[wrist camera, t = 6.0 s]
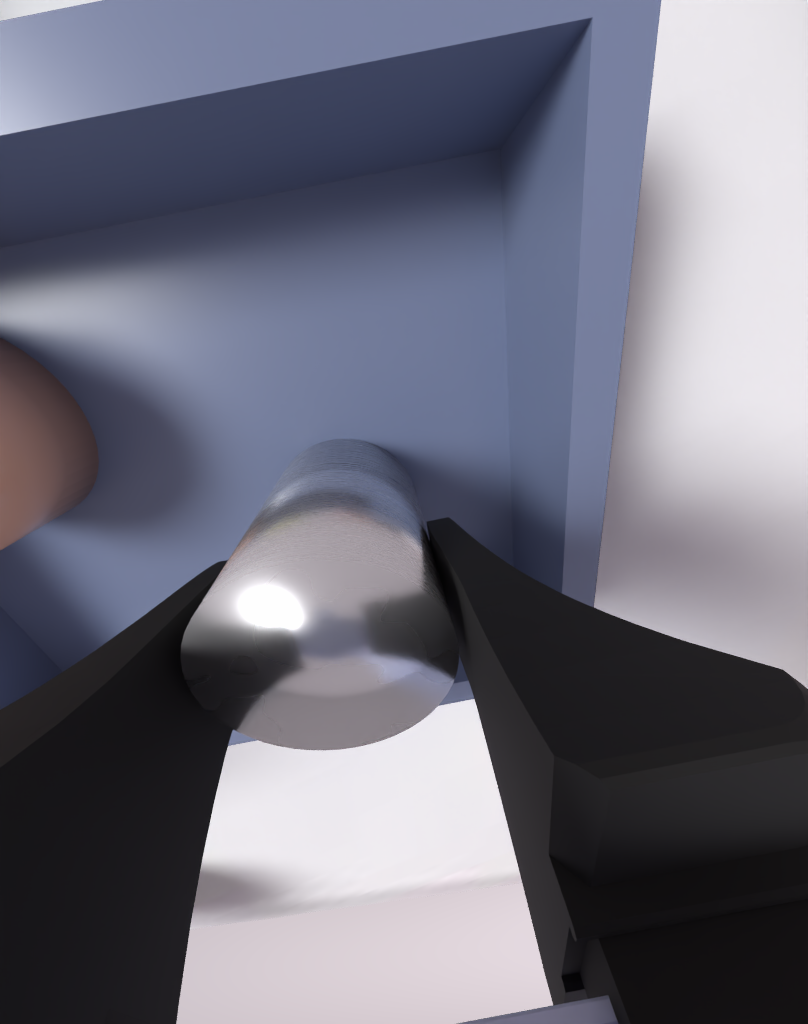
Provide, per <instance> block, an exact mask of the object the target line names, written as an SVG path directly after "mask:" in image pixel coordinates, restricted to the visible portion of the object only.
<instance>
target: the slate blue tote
mask: <svg viewBox="0 0 808 1024" xmlns="http://www.w3.org/2000/svg"><path fill="white" fill-rule="evenodd" d="M660 6H661V0H102V1H98V2H93V3H88V4H83V5H78V6H73V7H68V8H63V9H58V10H53V11H48V12H43V13H38V14H33V15H28V16H23V17H18V18H13V19H8V20H3V21H0V338H2V339H4V340H6V341H7V342H9V343H11V344H12V345H14V346H16V347H17V348H19V349H21V350H22V351H24V352H25V353H27V354H28V355H29V356H31V357H32V358H34V359H35V360H36V361H38V362H39V363H40V364H41V365H42V366H44V367H45V368H46V369H47V370H48V371H49V372H51V373H52V374H53V375H54V376H55V377H56V378H57V379H58V380H59V381H60V382H61V384H62V385H63V386H64V387H65V388H66V389H67V390H68V392H69V393H70V394H71V395H72V396H73V398H74V399H75V400H76V402H77V403H78V405H79V406H80V408H81V409H82V411H83V413H84V414H85V416H86V418H87V420H88V422H89V424H90V426H91V429H92V431H93V434H94V437H95V440H96V444H97V448H98V457H99V466H98V474H97V478H96V482H95V484H94V486H93V488H92V490H91V492H90V493H89V494H88V496H87V497H86V498H85V499H84V500H83V501H82V502H81V503H80V504H78V505H77V506H75V507H74V508H72V509H71V510H69V511H67V512H65V513H64V514H62V515H60V516H59V517H57V518H55V519H53V520H52V521H50V522H48V523H47V524H45V525H43V526H41V527H40V528H38V529H36V530H35V531H33V532H31V533H29V534H28V535H26V536H24V537H23V538H21V539H19V540H17V541H16V542H14V543H12V544H11V545H9V546H7V547H5V548H4V549H2V550H0V710H1V709H3V708H4V707H6V706H8V705H10V704H11V703H13V702H15V701H17V700H18V699H20V698H22V697H23V696H25V695H27V694H28V693H30V692H32V691H33V690H35V689H37V688H38V687H40V686H41V685H43V684H44V683H46V682H48V681H49V680H51V679H52V678H54V677H56V676H57V675H59V674H60V673H62V672H63V671H65V670H67V669H68V668H70V667H71V666H73V665H74V664H76V663H77V662H79V661H80V660H82V659H83V658H85V657H86V656H88V655H89V654H91V653H92V652H94V651H95V650H97V649H98V648H99V647H101V646H102V645H104V644H105V643H106V642H108V641H109V640H111V639H112V638H113V637H115V636H116V635H117V634H119V633H120V632H122V631H123V630H124V629H126V628H127V627H129V626H130V625H131V624H133V623H134V622H136V621H137V620H138V619H140V618H141V617H142V616H144V615H145V614H147V613H148V612H149V611H150V610H152V609H153V608H154V607H156V606H157V605H158V604H160V603H161V602H162V601H164V600H165V599H166V598H168V597H169V596H170V595H172V594H173V593H174V592H176V591H177V590H178V589H180V588H181V587H182V586H184V585H185V584H186V583H188V582H189V581H190V580H192V579H193V578H194V577H196V576H197V575H198V574H200V573H201V572H203V571H204V570H206V569H207V568H209V567H210V566H212V565H214V564H215V563H217V562H220V561H225V560H229V558H230V556H231V555H232V553H233V552H234V550H235V548H236V547H237V545H238V544H239V542H240V541H241V539H242V537H243V536H244V534H245V533H246V531H247V530H248V528H249V526H250V525H251V523H252V522H253V520H254V518H255V517H256V515H257V514H258V512H259V511H260V509H261V507H262V506H263V504H264V503H265V501H266V500H267V498H268V496H269V495H270V493H271V492H272V490H273V488H274V487H275V485H276V484H277V482H278V481H279V479H280V477H281V476H282V474H283V473H284V471H285V470H286V468H287V467H288V465H289V464H290V463H291V461H292V460H293V459H294V458H295V457H296V456H297V455H299V454H300V453H301V452H303V451H304V450H306V449H307V448H309V447H311V446H313V445H315V444H318V443H320V442H324V441H328V440H332V439H356V440H362V441H366V442H369V443H372V444H374V445H377V446H379V447H381V448H383V449H384V450H386V451H388V452H389V453H390V454H392V455H393V456H394V457H395V458H396V459H397V460H398V461H399V462H400V463H401V464H402V465H403V466H404V468H405V469H406V470H407V472H408V474H409V475H410V477H411V479H412V482H413V485H414V488H415V491H416V495H417V498H418V502H419V505H420V509H421V512H422V516H423V520H424V523H425V527H426V530H427V534H428V528H427V522H426V521H431V520H437V519H442V518H447V517H449V518H451V519H452V520H453V521H455V522H456V523H457V524H458V525H459V526H460V527H461V528H462V529H464V530H465V531H466V532H467V533H468V534H470V535H471V536H472V537H473V538H474V539H476V540H477V541H478V542H479V543H481V544H482V545H483V546H485V547H486V548H487V549H489V550H490V551H491V552H493V553H494V554H495V555H497V556H498V557H500V558H501V559H503V560H504V561H506V562H507V563H509V564H510V565H512V566H513V567H515V568H516V569H518V570H519V571H521V572H523V573H524V574H526V575H528V576H530V577H531V578H533V579H535V580H537V581H539V582H541V583H543V584H545V585H547V586H548V587H550V588H552V589H554V590H556V591H558V592H560V593H562V594H564V595H566V596H569V597H571V598H573V599H575V600H577V601H580V602H582V603H584V604H587V605H589V606H591V607H594V599H595V590H596V581H597V572H598V563H599V554H600V545H601V536H602V527H603V518H604V509H605V500H606V491H607V482H608V473H609V464H610V455H611V446H612V437H613V428H614V419H615V410H616V401H617V392H618V383H619V374H620V365H621V356H622V348H623V339H624V330H625V321H626V312H627V303H628V294H629V285H630V276H631V267H632V258H633V249H634V240H635V231H636V222H637V213H638V204H639V195H640V186H641V177H642V168H643V159H644V150H645V141H646V132H647V123H648V114H649V105H650V96H651V87H652V78H653V69H654V60H655V51H656V42H657V33H658V24H659V15H660ZM428 537H429V534H428ZM429 541H430V540H429ZM470 699H474V696H473V693H472V689H471V686H470V684H469V681H468V678H467V675H466V673H465V670H464V667H463V664H462V662H461V659H460V656H459V664H458V670H457V674H456V677H455V680H454V682H453V685H452V686H451V688H450V690H449V692H448V694H447V695H446V696H445V698H444V699H443V700H442V702H441V703H440V704H439V705H444V704H449V703H455V702H460V701H465V700H470ZM439 705H438V706H439ZM250 741H256V739H253V738H250V737H248V736H246V735H244V734H241V733H239V732H237V731H235V730H233V731H232V734H231V737H230V741H229V744H228V746H230V745H235V744H240V743H245V742H250Z"/></svg>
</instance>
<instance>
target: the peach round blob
mask: <svg viewBox="0 0 808 1024" xmlns="http://www.w3.org/2000/svg"><path fill="white" fill-rule="evenodd" d="M98 466H99V457H98V448H97V444H96V440H95V437H94V434H93V431H92V429H91V426H90V424H89V422H88V420H87V418H86V416H85V414H84V413H83V411H82V409H81V408H80V406H79V405H78V403H77V402H76V400H75V399H74V398H73V396H72V395H71V394H70V393H69V392H68V390H67V389H66V388H65V387H64V386H63V385H62V384H61V382H60V381H59V380H58V379H57V378H56V377H55V376H54V375H53V374H52V373H51V372H49V371H48V370H47V369H46V368H45V367H44V366H42V365H41V364H40V363H39V362H38V361H36V360H35V359H34V358H32V357H31V356H29V355H28V354H27V353H25V352H24V351H22V350H21V349H19V348H17V347H16V346H14V345H12V344H11V343H9V342H7V341H6V340H4V339H2V338H0V550H2V549H4V548H5V547H7V546H9V545H11V544H12V543H14V542H16V541H17V540H19V539H21V538H23V537H24V536H26V535H28V534H29V533H31V532H33V531H35V530H36V529H38V528H40V527H41V526H43V525H45V524H47V523H48V522H50V521H52V520H53V519H55V518H57V517H59V516H60V515H62V514H64V513H65V512H67V511H69V510H71V509H72V508H74V507H75V506H77V505H78V504H80V503H81V502H82V501H83V500H84V499H85V498H86V497H87V496H88V494H89V493H90V492H91V490H92V488H93V486H94V484H95V482H96V478H97V474H98Z"/></svg>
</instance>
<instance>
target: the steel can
mask: <svg viewBox="0 0 808 1024" xmlns="http://www.w3.org/2000/svg"><path fill="white" fill-rule="evenodd" d="M180 659H181V666H182V672H183V674H184V677H185V680H186V683H187V685H188V687H189V688H190V690H191V692H192V694H193V695H194V697H195V698H196V699H197V700H198V702H199V703H200V704H201V705H202V706H203V707H204V708H205V709H206V710H207V711H208V712H209V713H210V714H211V715H212V716H214V717H215V718H216V719H218V720H219V721H220V722H222V723H223V724H225V725H226V726H228V727H230V728H232V729H233V730H235V731H237V732H239V733H241V734H244V735H246V736H248V737H250V738H253V739H256V740H259V741H262V742H265V743H269V744H273V745H277V746H282V747H288V748H294V749H305V750H336V749H346V748H353V747H358V746H363V745H367V744H371V743H375V742H378V741H381V740H384V739H387V738H389V737H392V736H394V735H397V734H399V733H401V732H403V731H405V730H407V729H409V728H411V727H412V726H414V725H415V724H417V723H418V722H420V721H421V720H423V719H424V718H425V717H426V716H428V715H429V714H430V713H431V712H432V711H433V710H434V709H435V708H436V707H437V706H438V705H439V704H440V703H441V702H442V700H443V699H444V698H445V696H446V695H447V694H448V692H449V690H450V688H451V686H452V685H453V682H454V680H455V677H456V674H457V670H458V664H459V646H458V642H457V637H456V633H455V630H454V626H453V622H452V619H451V615H450V612H449V608H448V605H447V601H446V598H445V594H444V590H443V587H442V583H441V580H440V576H439V573H438V569H437V566H436V562H435V559H434V555H433V551H432V548H431V544H430V541H429V537H428V534H427V530H426V527H425V523H424V520H423V516H422V512H421V509H420V505H419V502H418V498H417V495H416V491H415V488H414V485H413V482H412V479H411V477H410V475H409V474H408V472H407V470H406V469H405V468H404V466H403V465H402V464H401V463H400V462H399V461H398V460H397V459H396V458H395V457H394V456H393V455H392V454H390V453H389V452H388V451H386V450H384V449H383V448H381V447H379V446H377V445H374V444H372V443H369V442H366V441H362V440H356V439H332V440H328V441H324V442H320V443H318V444H315V445H313V446H311V447H309V448H307V449H306V450H304V451H303V452H301V453H300V454H299V455H297V456H296V457H295V458H294V459H293V460H292V461H291V463H290V464H289V465H288V467H287V468H286V470H285V471H284V473H283V474H282V476H281V477H280V479H279V481H278V482H277V484H276V485H275V487H274V488H273V490H272V492H271V493H270V495H269V496H268V498H267V500H266V501H265V503H264V504H263V506H262V507H261V509H260V511H259V512H258V514H257V515H256V517H255V518H254V520H253V522H252V523H251V525H250V526H249V528H248V530H247V531H246V533H245V534H244V536H243V537H242V539H241V541H240V542H239V544H238V545H237V547H236V548H235V550H234V552H233V553H232V555H231V556H230V558H229V560H228V561H227V563H226V564H225V566H224V567H223V569H222V571H221V572H220V574H219V575H218V577H217V578H216V580H215V582H214V583H213V585H212V586H211V588H210V590H209V591H208V593H207V594H206V596H205V597H204V599H203V601H202V602H201V604H200V605H199V607H198V608H197V610H196V612H195V613H194V615H193V616H192V618H191V620H190V622H189V624H188V626H187V628H186V630H185V632H184V636H183V640H182V644H181V657H180Z"/></svg>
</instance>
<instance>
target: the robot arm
mask: <svg viewBox="0 0 808 1024" xmlns="http://www.w3.org/2000/svg"><path fill="white" fill-rule="evenodd" d="M426 522H427V528H428V534H429V540H430V544H431V548H432V551H433V555H434V559H435V562H436V566H437V569H438V573H439V576H440V580H441V583H442V587H443V590H444V594H445V598H446V601H447V605H448V608H449V612H450V615H451V619H452V622H453V626H454V630H455V633H456V637H457V642H458V646H459V656H460V659H461V662H462V664H463V667H464V670H465V673H466V675H467V678H468V681H469V684H470V686H471V689H472V693H473V696H474V699H475V702H476V705H477V709H478V712H479V716H480V720H481V724H482V728H483V731H484V735H485V739H486V743H487V746H488V750H489V754H490V758H491V762H492V766H493V769H494V773H495V777H496V781H497V785H498V789H499V792H500V796H501V800H502V804H503V808H504V812H505V816H506V820H507V824H508V828H509V832H510V835H511V839H512V843H513V847H514V851H515V855H516V859H517V863H518V867H519V871H520V875H521V879H522V883H523V887H524V891H525V895H526V899H527V903H528V907H529V911H530V915H531V919H532V923H533V927H534V931H535V935H536V939H537V943H538V947H539V951H540V955H541V959H542V964H543V968H544V972H545V976H546V979H547V983H548V987H549V990H550V994H551V998H552V1001H553V1006H548V1007H543V1008H537V1009H532V1010H527V1011H521V1012H517V1013H511V1014H506V1015H500V1016H495V1017H490V1018H484V1019H479V1020H474V1021H469V1022H464V1023H458V1024H808V689H807V688H806V687H804V686H803V685H802V684H801V683H800V682H798V681H797V680H796V679H794V678H793V677H792V676H790V675H789V674H788V673H786V672H785V671H784V670H782V669H778V668H775V667H771V666H768V665H765V664H761V663H758V662H754V661H751V660H747V659H744V658H740V657H737V656H734V655H730V654H727V653H723V652H720V651H716V650H713V649H709V648H706V647H703V646H699V645H696V644H692V643H689V642H686V641H683V640H680V639H677V638H674V637H671V636H668V635H665V634H662V633H659V632H656V631H653V630H651V629H648V628H645V627H642V626H639V625H636V624H634V623H631V622H628V621H626V620H623V619H620V618H618V617H615V616H613V615H610V614H608V613H605V612H603V611H601V610H598V609H596V608H594V607H591V606H589V605H587V604H584V603H582V602H580V601H577V600H575V599H573V598H571V597H569V596H566V595H564V594H562V593H560V592H558V591H556V590H554V589H552V588H550V587H548V586H547V585H545V584H543V583H541V582H539V581H537V580H535V579H533V578H531V577H530V576H528V575H526V574H524V573H523V572H521V571H519V570H518V569H516V568H515V567H513V566H512V565H510V564H509V563H507V562H506V561H504V560H503V559H501V558H500V557H498V556H497V555H495V554H494V553H493V552H491V551H490V550H489V549H487V548H486V547H485V546H483V545H482V544H481V543H479V542H478V541H477V540H476V539H474V538H473V537H472V536H471V535H470V534H468V533H467V532H466V531H465V530H464V529H462V528H461V527H460V526H459V525H458V524H457V523H456V522H455V521H453V520H452V519H451V518H449V517H447V518H442V519H437V520H431V521H426ZM227 561H228V560H225V561H220V562H217V563H215V564H214V565H212V566H210V567H209V568H207V569H206V570H204V571H203V572H201V573H200V574H198V575H197V576H196V577H194V578H193V579H192V580H190V581H189V582H188V583H186V584H185V585H184V586H182V587H181V588H180V589H178V590H177V591H176V592H174V593H173V594H172V595H170V596H169V597H168V598H166V599H165V600H164V601H162V602H161V603H160V604H158V605H157V606H156V607H154V608H153V609H152V610H150V611H149V612H148V613H147V614H145V615H144V616H142V617H141V618H140V619H138V620H137V621H136V622H134V623H133V624H131V625H130V626H129V627H127V628H126V629H124V630H123V631H122V632H120V633H119V634H117V635H116V636H115V637H113V638H112V639H111V640H109V641H108V642H106V643H105V644H104V645H102V646H101V647H99V648H98V649H97V650H95V651H94V652H92V653H91V654H89V655H88V656H86V657H85V658H83V659H82V660H80V661H79V662H77V663H76V664H74V665H73V666H71V667H70V668H68V669H67V670H65V671H63V672H62V673H60V674H59V675H57V676H56V677H54V678H52V679H51V680H49V681H48V682H46V683H44V684H43V685H41V686H40V687H38V688H37V689H35V690H33V691H32V692H30V693H28V694H27V695H25V696H23V697H22V698H20V699H18V700H17V701H15V702H13V703H11V704H10V705H8V706H6V707H4V708H3V709H1V710H0V1024H176V1020H177V1013H178V1005H179V997H180V991H181V984H182V978H183V971H184V964H185V957H186V951H187V944H188V937H189V931H190V924H191V918H192V913H193V907H194V902H195V896H196V890H197V885H198V879H199V874H200V868H201V863H202V857H203V852H204V847H205V842H206V838H207V833H208V828H209V823H210V819H211V814H212V809H213V804H214V800H215V796H216V791H217V787H218V783H219V779H220V775H221V770H222V766H223V762H224V758H225V754H226V751H227V747H228V744H229V741H230V737H231V734H232V731H233V729H232V728H230V727H228V726H226V725H225V724H223V723H222V722H220V721H219V720H218V719H216V718H215V717H214V716H212V715H211V714H210V713H209V712H208V711H207V710H206V709H205V708H204V707H203V706H202V705H201V704H200V703H199V702H198V700H197V699H196V698H195V697H194V695H193V694H192V692H191V690H190V688H189V687H188V685H187V683H186V680H185V677H184V674H183V672H182V666H181V659H180V657H181V644H182V640H183V636H184V632H185V630H186V628H187V626H188V624H189V622H190V620H191V618H192V616H193V615H194V613H195V612H196V610H197V608H198V607H199V605H200V604H201V602H202V601H203V599H204V597H205V596H206V594H207V593H208V591H209V590H210V588H211V586H212V585H213V583H214V582H215V580H216V578H217V577H218V575H219V574H220V572H221V571H222V569H223V567H224V566H225V564H226V563H227Z"/></svg>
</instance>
